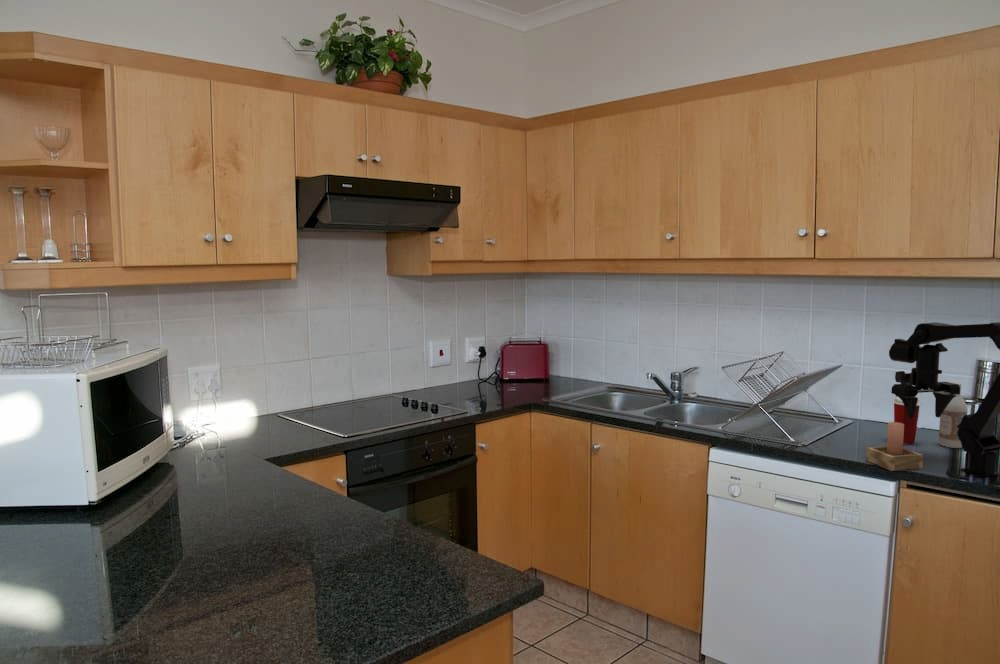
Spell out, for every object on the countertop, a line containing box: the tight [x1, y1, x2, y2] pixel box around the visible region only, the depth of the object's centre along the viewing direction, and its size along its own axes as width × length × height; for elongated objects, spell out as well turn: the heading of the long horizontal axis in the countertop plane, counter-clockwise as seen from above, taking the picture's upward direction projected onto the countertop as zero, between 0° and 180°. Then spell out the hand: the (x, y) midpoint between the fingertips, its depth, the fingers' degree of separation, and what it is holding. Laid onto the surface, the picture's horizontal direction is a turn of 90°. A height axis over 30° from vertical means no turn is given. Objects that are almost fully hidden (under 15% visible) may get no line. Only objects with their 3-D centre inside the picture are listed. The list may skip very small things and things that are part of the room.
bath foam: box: [938, 381, 968, 449], centre depth 220 cm, size 7×7×20 cm
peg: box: [886, 421, 904, 456], centre depth 201 cm, size 4×4×12 cm
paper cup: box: [892, 396, 921, 445], centre depth 225 cm, size 8×8×14 cm
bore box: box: [865, 445, 924, 472], centre depth 202 cm, size 10×10×4 cm
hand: (924, 418), depth 207 cm, fingers open, 9 cm apart
